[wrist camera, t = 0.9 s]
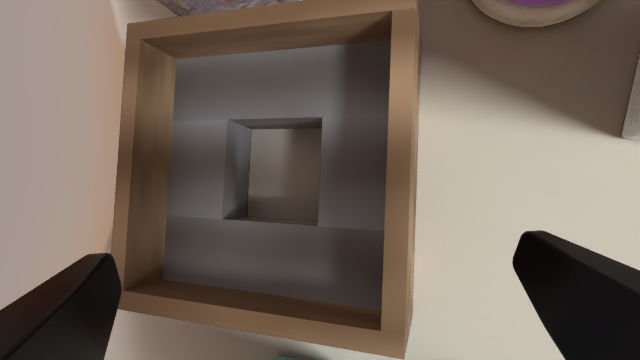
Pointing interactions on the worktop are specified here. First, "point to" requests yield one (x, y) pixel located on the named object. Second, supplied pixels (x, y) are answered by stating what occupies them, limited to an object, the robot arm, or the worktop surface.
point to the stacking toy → (533, 11)
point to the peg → (283, 358)
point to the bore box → (234, 162)
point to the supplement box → (633, 110)
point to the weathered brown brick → (213, 5)
